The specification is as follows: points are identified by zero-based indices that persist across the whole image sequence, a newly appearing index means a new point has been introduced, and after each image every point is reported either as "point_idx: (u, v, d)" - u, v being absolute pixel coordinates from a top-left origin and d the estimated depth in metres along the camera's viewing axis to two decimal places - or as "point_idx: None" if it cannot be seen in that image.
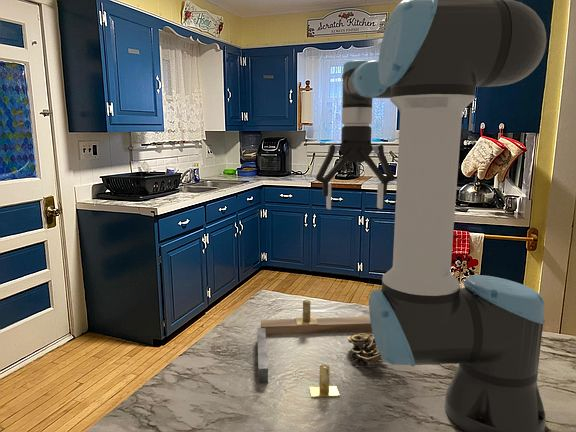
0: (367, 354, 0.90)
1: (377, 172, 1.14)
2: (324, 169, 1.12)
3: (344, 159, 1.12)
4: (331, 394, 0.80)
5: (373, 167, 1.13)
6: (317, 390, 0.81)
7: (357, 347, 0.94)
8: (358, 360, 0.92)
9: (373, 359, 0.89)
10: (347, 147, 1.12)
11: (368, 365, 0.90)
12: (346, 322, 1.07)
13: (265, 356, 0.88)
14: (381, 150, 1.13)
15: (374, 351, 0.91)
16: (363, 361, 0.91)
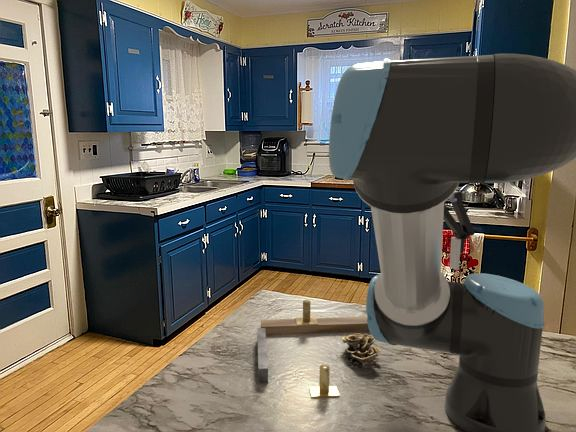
0: (362, 354, 0.90)
1: (453, 225, 0.91)
2: None
3: None
4: (331, 394, 0.80)
5: (449, 219, 0.91)
6: (317, 390, 0.81)
7: (352, 347, 0.94)
8: (353, 360, 0.92)
9: (368, 359, 0.89)
10: None
11: (363, 365, 0.90)
12: (346, 322, 1.07)
13: (265, 356, 0.88)
14: (459, 198, 0.91)
15: (369, 351, 0.91)
16: (358, 361, 0.91)
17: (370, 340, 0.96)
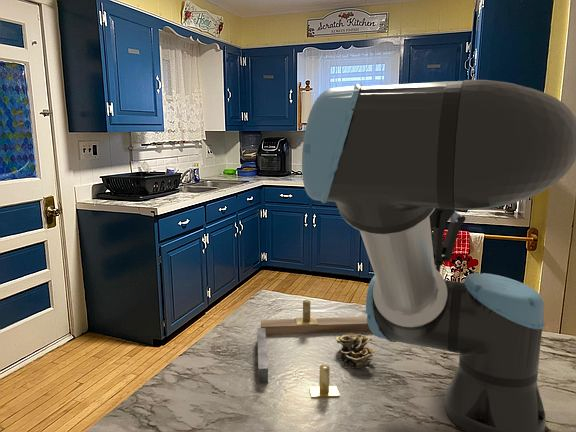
0: (356, 355, 0.90)
1: (438, 247, 0.90)
2: None
3: None
4: (331, 394, 0.80)
5: (439, 238, 0.90)
6: (317, 390, 0.81)
7: (346, 348, 0.93)
8: (347, 361, 0.92)
9: (362, 360, 0.89)
10: None
11: (357, 366, 0.89)
12: (346, 322, 1.07)
13: (265, 356, 0.88)
14: (460, 222, 0.90)
15: (363, 351, 0.91)
16: (352, 362, 0.91)
17: (364, 340, 0.96)
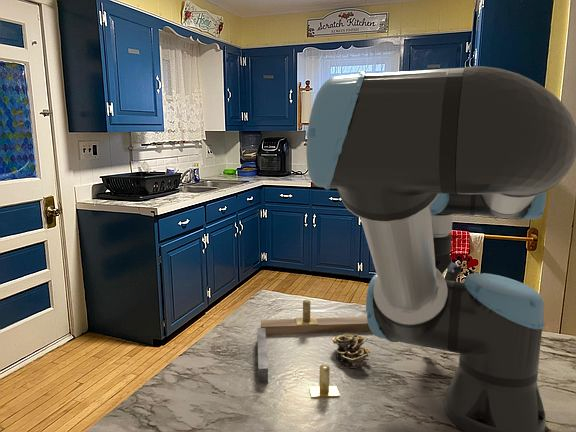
0: (352, 355, 0.90)
1: None
2: None
3: None
4: (331, 394, 0.80)
5: None
6: (317, 390, 0.81)
7: (342, 348, 0.93)
8: (343, 361, 0.92)
9: (358, 360, 0.89)
10: None
11: (353, 366, 0.89)
12: (346, 322, 1.07)
13: (265, 356, 0.88)
14: (456, 272, 0.92)
15: (359, 352, 0.91)
16: (348, 362, 0.91)
17: (360, 340, 0.96)
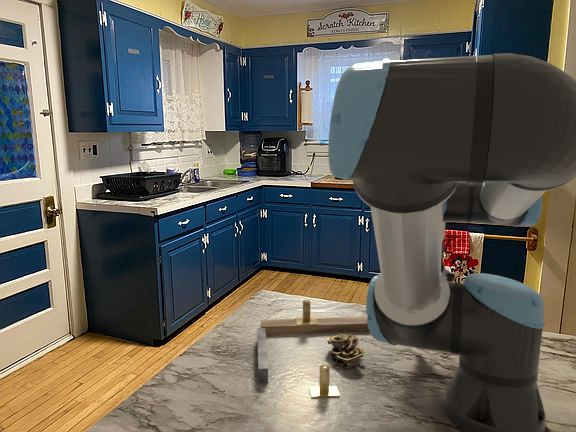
0: (347, 355, 0.90)
1: None
2: None
3: None
4: (331, 394, 0.80)
5: None
6: (317, 390, 0.81)
7: (337, 348, 0.93)
8: (338, 361, 0.92)
9: (353, 360, 0.89)
10: None
11: (348, 366, 0.89)
12: (346, 322, 1.07)
13: (265, 356, 0.88)
14: (449, 279, 0.92)
15: (354, 352, 0.91)
16: (343, 362, 0.91)
17: (355, 341, 0.96)
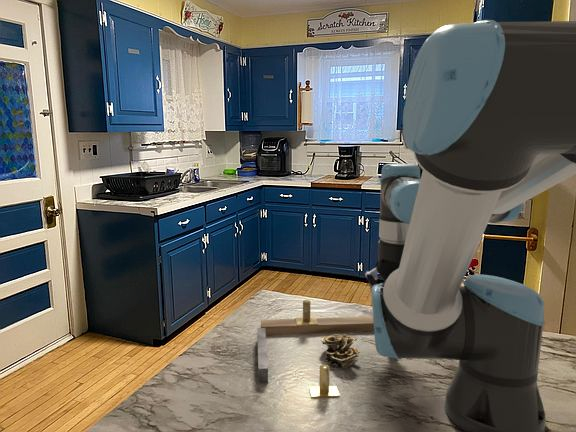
0: (341, 355, 0.90)
1: None
2: None
3: None
4: (331, 394, 0.80)
5: None
6: (317, 390, 0.81)
7: (331, 349, 0.93)
8: (332, 362, 0.92)
9: (347, 360, 0.89)
10: (384, 265, 0.90)
11: (342, 366, 0.89)
12: (346, 322, 1.07)
13: (265, 356, 0.88)
14: None
15: (348, 352, 0.90)
16: (337, 363, 0.91)
17: (349, 341, 0.96)
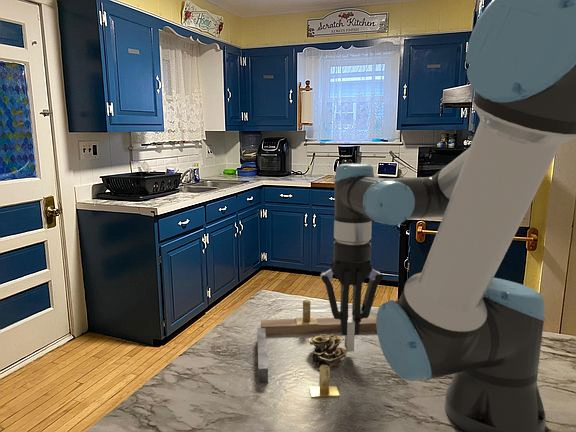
0: (329, 356, 0.89)
1: (356, 304, 0.91)
2: (334, 304, 0.91)
3: (345, 286, 0.90)
4: (331, 394, 0.80)
5: (356, 296, 0.91)
6: (317, 390, 0.81)
7: (319, 349, 0.93)
8: (320, 362, 0.91)
9: (335, 360, 0.89)
10: (339, 266, 0.90)
11: (330, 367, 0.89)
12: None
13: (265, 356, 0.88)
14: (377, 280, 0.91)
15: (336, 352, 0.90)
16: (325, 363, 0.90)
17: (337, 341, 0.96)
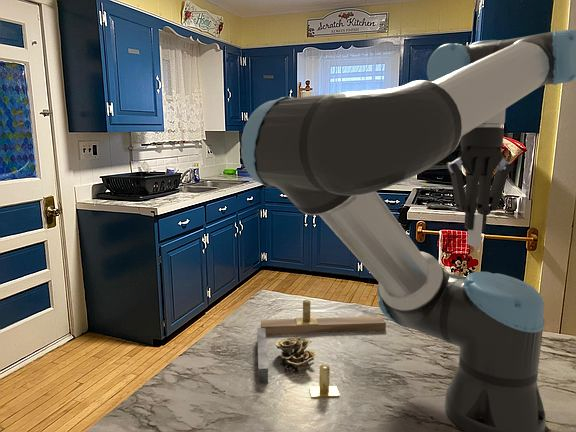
0: (297, 359, 0.88)
1: (485, 195, 0.87)
2: (462, 194, 0.87)
3: (476, 175, 0.86)
4: (331, 394, 0.80)
5: (486, 186, 0.87)
6: (317, 390, 0.81)
7: (286, 353, 0.91)
8: (288, 366, 0.90)
9: (304, 364, 0.87)
10: (469, 153, 0.85)
11: (299, 370, 0.88)
12: (346, 322, 1.07)
13: (265, 356, 0.88)
14: (508, 169, 0.87)
15: (304, 355, 0.89)
16: (293, 367, 0.89)
17: (304, 343, 0.95)
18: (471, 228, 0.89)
